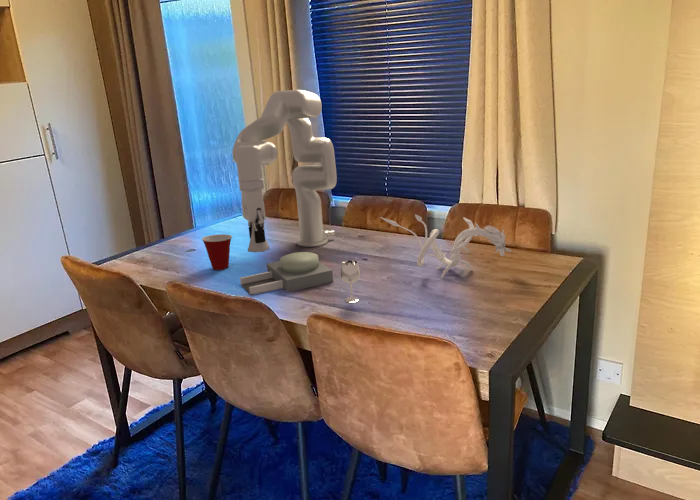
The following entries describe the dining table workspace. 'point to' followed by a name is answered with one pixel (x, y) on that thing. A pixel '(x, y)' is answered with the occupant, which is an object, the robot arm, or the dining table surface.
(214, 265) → the plastic cup
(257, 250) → the flask
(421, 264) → the white dragon statue
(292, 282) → the two-pronged domed base
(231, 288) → the dining table surface
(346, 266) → the wineglass
